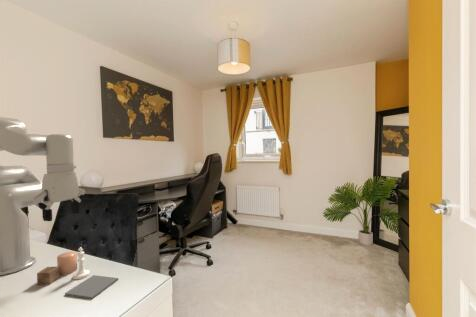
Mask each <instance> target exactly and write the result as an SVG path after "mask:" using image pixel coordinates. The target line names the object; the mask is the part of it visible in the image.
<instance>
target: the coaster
mask: <svg viewBox="0 0 476 317" xmlns="http://www.w3.org/2000/svg"><path fill="white" fill-rule="evenodd" d="M118 280H119V277H114V276H113V277H112V276H111V277H110V276H103V275H96V274H95V275H94V274H93V275H92V276H90V277H88V278H86V279H85V280H83V281H82V282H80V283H79V284H77V285H76V286H74V287H72V288H71V289H70V290H68V291H66V292H65V293H64V295H65V296H67V297H68V296H69V297H76V298H80V299H81V298H83V299H88V300H93V299H95V298H96V297H97V296H99V295H100V294H101V293H103V292H104V291H106V290H107V289H108V288H110V287H111V286H113V284H115V283H116V282H118Z"/></svg>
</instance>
